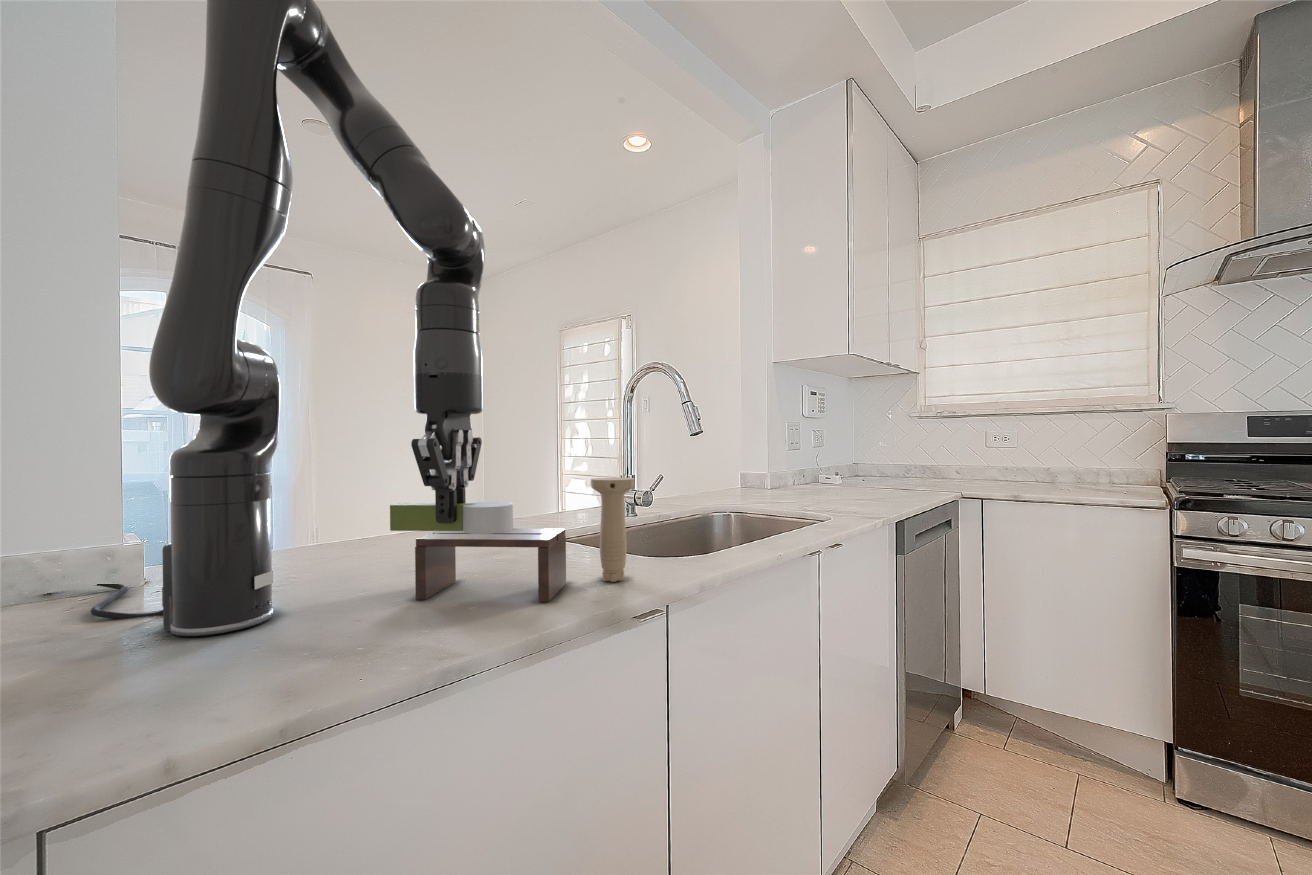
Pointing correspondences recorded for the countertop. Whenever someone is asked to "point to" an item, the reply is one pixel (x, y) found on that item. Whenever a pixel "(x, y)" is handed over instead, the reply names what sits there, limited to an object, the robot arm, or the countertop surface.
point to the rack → (439, 548)
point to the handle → (612, 525)
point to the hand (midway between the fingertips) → (451, 520)
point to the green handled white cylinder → (468, 517)
